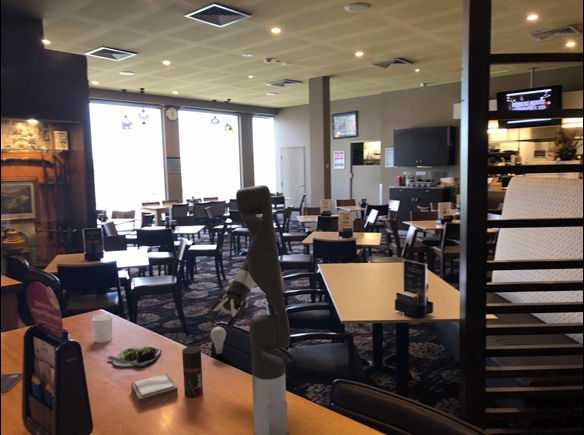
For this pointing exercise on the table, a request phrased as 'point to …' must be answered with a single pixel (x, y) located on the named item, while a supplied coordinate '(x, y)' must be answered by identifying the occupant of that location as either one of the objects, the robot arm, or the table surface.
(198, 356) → the deodorant
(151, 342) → the table surface
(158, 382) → the pedestal
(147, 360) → the salad plate
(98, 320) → the white cup
